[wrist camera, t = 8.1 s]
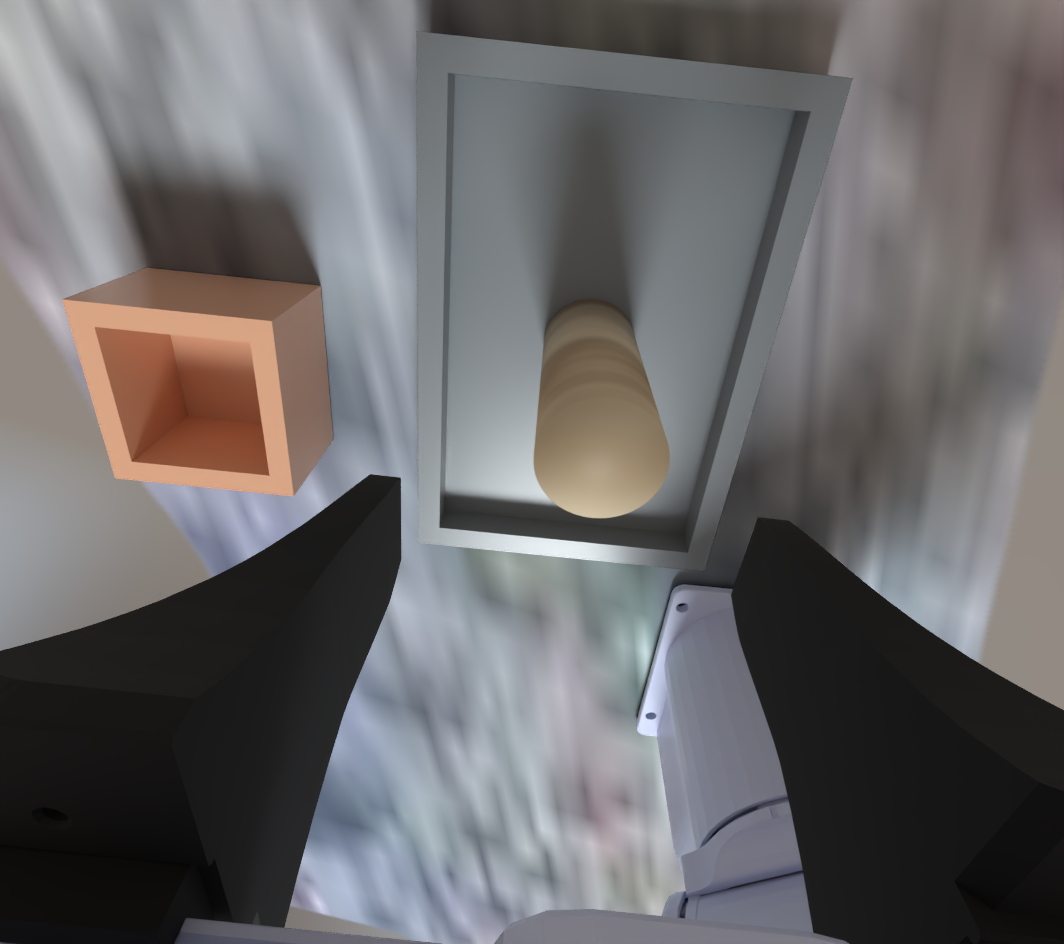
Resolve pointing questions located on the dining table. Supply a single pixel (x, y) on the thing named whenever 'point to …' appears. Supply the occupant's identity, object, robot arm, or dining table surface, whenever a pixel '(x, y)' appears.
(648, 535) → the tray
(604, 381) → the dowel
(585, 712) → the dining table surface
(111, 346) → the open box
